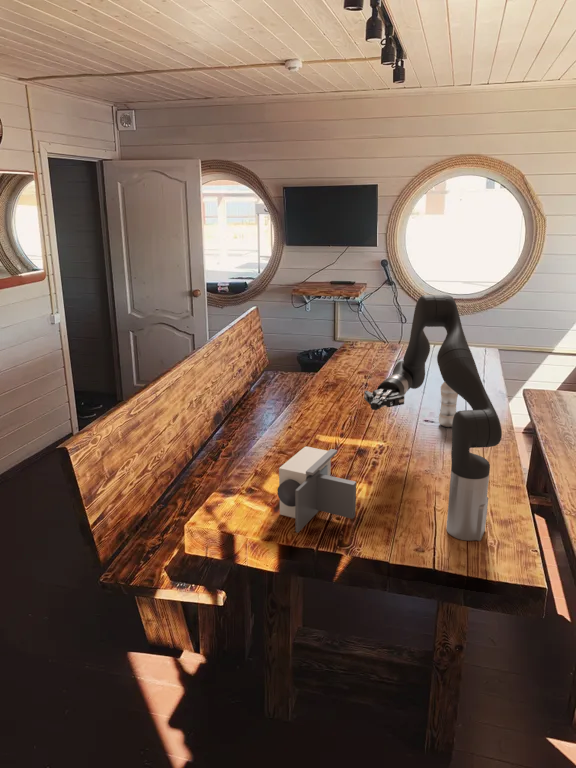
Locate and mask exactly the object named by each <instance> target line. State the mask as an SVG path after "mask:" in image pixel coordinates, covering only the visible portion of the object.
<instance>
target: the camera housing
mask: <svg viewBox="0 0 576 768" xmlns="http://www.w3.org/2000/svg"><path fill="white" fill-rule="evenodd" d="M337 454H338V449H334V448H333V449H332V448H330V449H329V450H326V449H321V448H316V447H311V446H304V447H303V448H302V449H300V450H299V451H298V452H296V453H295V454H294V455H293V456H292V457H290V458H289V459H288V460H287V461H285V463H283V464H282V465H281V466H280V467H279V468H278V478H279V479H278V487H277V490H276V491H277V492H276V493H277V496H278V499H279V515H280V516H285V517H288V518H292V519H295V490H296V489H297V488H298V487H299V486H300V485H301V484H302V483H303V482H305V481H306V480H307V479H308V478H309V477H310V476H311V475H312V476H313V475H314V474H315V473H316V472H317V471H318V470H320V474H324V475H328V476H331V471H332V470H331V465H332V464H331V463H332V461H331V459H332V458H334V457H335V456H336V455H337Z"/></svg>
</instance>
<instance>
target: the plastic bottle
mask: <svg viewBox="0 0 576 768" xmlns="http://www.w3.org/2000/svg"><path fill="white" fill-rule="evenodd" d="M458 396H459V395H458V394H457V393H456V392H455V391H454V390H452V389H451V388H450V387H449V386H448V385H447V384H446V383H445V381H444V382H443V383H442V384H441V386H440V397H441V399H440V409H439V410H440V411H439V414H438V423H439V425H441V426H442V427H447V428H452V422H453V418H454V415H455V413H456V412H457V405H458V404H457V401H458Z"/></svg>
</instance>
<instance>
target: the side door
mask: <svg viewBox="0 0 576 768" xmlns="http://www.w3.org/2000/svg"><path fill="white" fill-rule="evenodd" d="M356 506H357V481H355V480H351V479H347V478H346V479H345V478H341V477H336V476H334V475H333V476H332V475H330V476H328V475H324V474H320V470H318V471H317V472H316V473H315V474H314V475H313V476H312V475H311V476H310V477H309V478H308V479H307V480H306V481H305V482H303V483H302V484H301V485H300V486H299V487H298V488H297V489H296V490H295V518H294V519H295V533H297V534H298V533H300V531H301V530H302V529H304V527H305V526H306V525H307V524H308V523H309V522H310V521H311V520H312V519H313V518H314V516H316V515H317V514H318V513H319V512H323V513H328V514H332V515H335V516H340V517H344V518H346V519H347V518H348V519H350V520H354V518H355V517H356V510H357V507H356Z"/></svg>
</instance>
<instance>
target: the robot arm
mask: <svg viewBox="0 0 576 768" xmlns="http://www.w3.org/2000/svg"><path fill="white" fill-rule="evenodd" d="M460 318H461V317H460V313H459V309H458V306H457V303H456V300H455V299H454V297H453V296H451V295H448V294H424V295H421V296H420V297H418V299H417V301H416V304H415V306H414V313H413V318H412V323H411V331H410V337H409V341H408V344H407V348H406V350H405V352H404V356H403V359H402V360H401V361H397V363H395V366H394V367H393V370H392V374H391V375H390V376H388V377H386V378H385V379H384V380H383V381H382V382H381V383H380V384H379V385H378V387H377V388H376V389H374V390H373V391H372V392H371V391H369V390H364V393H363V394H364V397H363V398H364V400H365V401H366V403H367V404H369V405H370V409H371V410H372V411H377V410H380V409H381V408H384V407H386V408H393V407H398V406H401V405H404V404H405V395H406V394H407V392H408V391H409V390H410V389H412V390H416V389H418V388H420V387H421V386H422V385H423V383H424V382H425V377H426V362H427V360H428V357H429V356H430V352H431V344H430V341H429V339H428V337H427V336H426V333H425V331H424V330H425V328H426V327H428V328H430V327H431V328H433V327H437V328H440V327H441V328H442V327H443V328H444V329H445V330H446V336H445V338H444V340H443V342H442V344H441V345H440V348H439V350H438V352H437V356H436V361H437V362H436V363H437V364H438V369H439V372H440V375H441V378H442V379H443V381H444V382H445V383H446V384H447V385H448V386H449V387H450V388H451V389H452V390H454V391H455V392H456V393H457V394H458V396H459V397H461V398H462V399H463V400H464V401H466V402H467V403H468V405H469V406H470V408H471V410H470V409H468V410H467V409H466V410H459V411H456V413H455V415H454V418H453V422H452V427H451V450H450V451H451V454H450V456H451V458H450V459H451V467H450V481H449V490H448V491H449V492H448V503H447V504H448V506H447V517H446V531H447V533H448V534H449V535H450V536H452V537H453V538H455V539H457V540H462V541H470V542H471V541H478V542H481V541H482V538H483V536H484V533H485V531H486V525H487V516H488V506H489V497H488V490H489V482H490V481H489V480H490V473H491V472H490V471H491V470H490V469H491V464H490V462H489V460H488V459H486V458H485V457H483V456H481V455H478V454H475V453H472V452H470V450H471V449H473V448H474V449H476V448H478V449H479V448H492V447H496V446H498V445H499V444H500V443H501V440H502V435H503V432H502V430H503V429H502V424H501V420H500V418H499V416H498V413H497V411H496V409H495V407H494V405H493V402H492V401H491V400H490V397H489V395H488V393H487V391H486V389H485V387H484V385H483V382H482V380H481V376H480V373H479V371H478V368H477V364H476V362H475V359H474V356H473V353H472V351H471V349H470V347H469V343H468V341H467V338H466V335H465V333H464V329H463V326H462V323H461V322H462V320H461V319H460Z"/></svg>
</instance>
